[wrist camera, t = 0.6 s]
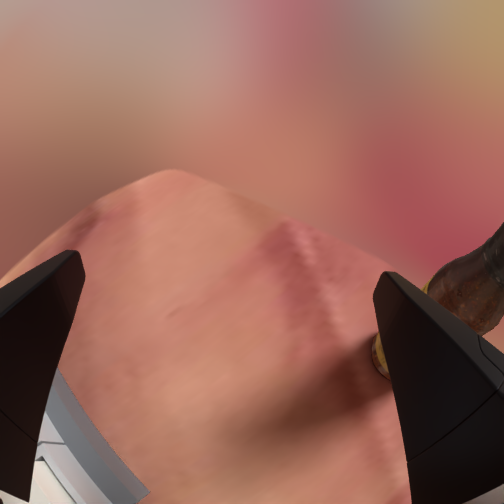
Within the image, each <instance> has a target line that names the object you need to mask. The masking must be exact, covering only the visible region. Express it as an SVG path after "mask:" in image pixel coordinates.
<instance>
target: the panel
mask: <svg viewBox="0 0 504 504" xmlns="http://www.w3.org/2000/svg"><path fill="white" fill-rule="evenodd" d="M37 444H38V446H37V451H36V457H35V461H46V462H47V464H48V465H49V467H50V468H51V469H52V471H53V472H54V474H55V475H56V477H57V478H58V479H59V481H60V482H61V483H62V485H63V486H64V487H65V489H66V490H67V491H68V493H69V494H70V495H71V497H72V498H73V499H74V500H75V501H76V503H77V504H136V503H137V502H139V501H140V500H141V499H143V498H144V497H145V496H146V495H148V494H149V493H150V491H149V490H148V489H147V488H146V487H145V486H144V485H143V484H142V483H141V482H140V481H139V480H138V478H137V477H136V476H135V475H134V474H133V473H132V472H131V471H130V470H129V468H128V467H127V466H126V465H125V464H124V463H123V461H122V460H121V459H120V458H119V457H118V455H117V454H116V453H115V452H114V451H113V449H112V448H111V447H110V446H109V444H108V443H107V442H106V440H105V439H104V438H103V436H102V435H101V434H100V432H99V431H98V430H97V428H96V427H95V426H94V424H93V423H92V421H91V420H90V419H89V417H88V416H87V414H86V413H85V411H84V410H83V408H82V407H81V405H80V404H79V402H78V401H77V399H76V398H75V396H74V394H73V393H72V391H71V390H70V388H69V386H68V385H67V383H66V381H65V380H64V378H63V376H62V374H61V373H60V371H59V369H58V367H57V370H56V373H55V376H54V380H53V383H52V386H51V390H50V394H49V397H48V401H47V405H46V409H45V413H44V417H43V421H42V426H41V430H40V435H39V440H38V443H37Z"/></svg>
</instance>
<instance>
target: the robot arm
mask: <svg viewBox="0 0 504 504" xmlns="http://www.w3.org/2000/svg"><path fill="white" fill-rule="evenodd" d="M84 282H85V271H84V267H83V263H82V259H81V255H80V253H79V252H78V251H77V250H65V251H63V252H61V253H59V254H58V255H56V256H54V257H52V258H50V259H49V260H47V261H45V262H43V263H42V264H40V265H38V266H36V267H35V268H33V269H31V270H30V271H28V272H26V273H25V274H23V275H21V276H20V277H18V278H16V279H15V280H13V281H11V282H10V283H8V284H7V285H5V286H3V287H2V288H0V490H1V491H3V492H5V493H7V494H10V495H12V496H14V497H16V498H19V499H21V500H23V501H26V502H28V503H29V500H30V493H31V484H32V476H33V469H34V463H35V457H36V451H37V446H38V444H37V443H38V440H39V435H40V430H41V426H42V421H43V417H44V413H45V409H46V405H47V401H48V397H49V394H50V390H51V386H52V383H53V380H54V376H55V373H56V370H57V366H58V363H59V360H60V357H61V354H62V351H63V348H64V345H65V342H66V340H67V337H68V334H69V331H70V329H71V326H72V323H73V320H74V316H75V313H76V309H77V305H78V302H79V298H80V295H81V292H82V288H83V285H84ZM373 302H374V307H375V313H376V318H377V324H378V329H379V335H380V340H381V345H382V349H383V352H384V356H385V360H386V364H387V368H388V372H389V376H390V380H391V384H392V388H393V393H394V397H395V402H396V406H397V411H398V416H399V421H400V426H401V431H402V437H403V442H404V448H405V454H406V460H407V468H408V475H409V483H410V491H411V500H412V504H504V354H503V353H502V352H500V351H499V350H498V349H497V348H495V347H494V346H493V345H492V344H490V343H489V342H488V341H487V340H485V339H484V338H483V337H482V336H480V335H479V334H477V332H475V331H474V330H473V329H472V328H470V327H469V326H468V325H467V324H465V323H464V322H463V321H461V320H460V319H459V318H458V317H456V316H455V315H454V314H452V313H451V312H450V311H448V310H447V309H446V308H445V307H443V306H442V305H441V304H439V303H438V302H437V301H435V300H434V299H432V298H431V297H430V296H428V295H427V294H426V293H424V292H423V291H422V290H420V289H419V288H417V287H416V286H415V285H413V284H412V283H410V282H409V281H408V280H406V279H405V278H403V277H402V276H401V275H399V274H398V273H396V272H390V271H385V272H383V273H382V274H381V276H380V278H379V281H378V283H377V285H376V288H375V290H374V293H373ZM0 504H4V503H3V501H2V499H0Z"/></svg>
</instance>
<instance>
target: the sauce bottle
mask: <svg viewBox="0 0 504 504" xmlns="http://www.w3.org/2000/svg"><path fill="white" fill-rule="evenodd" d="M421 290H422V291H423V292H424V293H426V294H427V295H428V296H430V297H431V298H432V299H434V300H435V301H437V302H438V303H439V304H441V305H442V306H443V307H445V308H446V309H447V310H448V311H450V312H451V313H452V314H454V315H455V316H456V317H458V318H459V319H460V320H461V321H463V322H464V323H465V324H467V325H468V326H469V327H470V328H472V329H473V330H474V331H475V332H477V334H479V335H480V336H483V335H484V334H486V333H487V332H489V331H491V330H492V329H494V327H495V326H497V325H498V324H499V322H500V320H501V318H502V317H503V315H504V222H503V224H502V225H501V227H500V228H499V229H498V230H497V231H496V232H495V234H494V235H493V236H492V237H491V238H489V239H488V240H487V241H486V242H485V243H484V244H483V245H482V246H480V247H479V248H477V249H476V250H474V251H472V252H471V253H469V254H467V255H465V256H462V257H459V258H457V259H455V260H453V261H451V262H449V263H447V264H446V265H444V266H443V267H442V268H441V269H439V271H438V272H437V273H436V274H435V275H434V276H433V277H432V278H431V279H430V280H429V281H428V282H427V283H426V284H425V285H424V287H423V288H422V289H421ZM372 359H373V363H374V365H375V366H376V368H377V369H378V370H379V371H380V372H381V374H383V375H384V376H385V377H386V378H388V379H390V376H389V372H388V368H387V364H386V360H385V356H384V352H383V349H382V345H381V340H380V335H379V332H378V333H377V334H376V336H375V337H374V339H373V345H372Z"/></svg>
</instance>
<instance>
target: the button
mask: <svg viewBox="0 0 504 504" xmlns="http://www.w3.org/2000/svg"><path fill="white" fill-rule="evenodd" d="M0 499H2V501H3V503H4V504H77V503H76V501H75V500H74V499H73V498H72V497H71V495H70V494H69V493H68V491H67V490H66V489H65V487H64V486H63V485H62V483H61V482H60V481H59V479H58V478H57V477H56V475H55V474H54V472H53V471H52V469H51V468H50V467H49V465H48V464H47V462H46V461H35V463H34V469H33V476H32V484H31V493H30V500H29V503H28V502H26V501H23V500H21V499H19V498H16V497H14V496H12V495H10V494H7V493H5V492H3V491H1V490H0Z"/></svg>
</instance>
